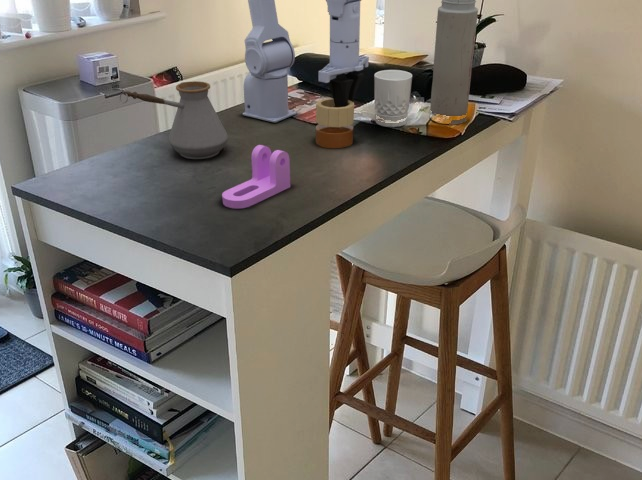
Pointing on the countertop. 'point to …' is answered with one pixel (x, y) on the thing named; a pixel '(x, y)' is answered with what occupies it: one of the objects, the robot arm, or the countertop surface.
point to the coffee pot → (192, 121)
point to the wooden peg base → (334, 136)
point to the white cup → (392, 96)
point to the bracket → (261, 179)
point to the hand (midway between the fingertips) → (343, 111)
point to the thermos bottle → (453, 58)
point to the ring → (334, 113)
